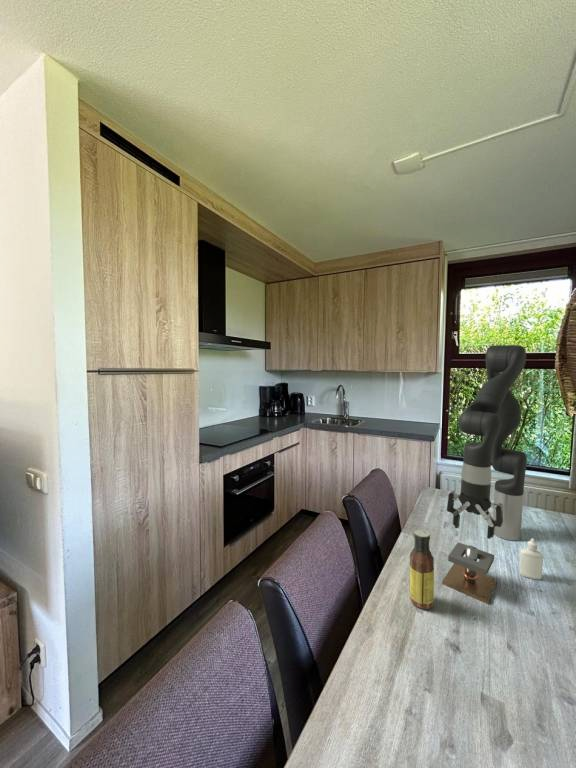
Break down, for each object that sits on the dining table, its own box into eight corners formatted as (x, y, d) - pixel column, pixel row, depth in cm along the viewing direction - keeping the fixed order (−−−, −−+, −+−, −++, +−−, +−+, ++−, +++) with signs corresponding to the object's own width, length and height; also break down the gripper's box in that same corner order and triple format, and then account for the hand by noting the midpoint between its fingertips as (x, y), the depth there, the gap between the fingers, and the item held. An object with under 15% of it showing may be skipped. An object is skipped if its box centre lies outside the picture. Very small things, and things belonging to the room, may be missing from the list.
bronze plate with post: (454, 565, 107) (455, 533, 106) (496, 582, 99) (499, 547, 98) (442, 583, 98) (444, 548, 97) (488, 604, 90) (490, 566, 89)
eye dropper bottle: (539, 583, 99) (542, 545, 98) (517, 574, 103) (519, 537, 102) (542, 577, 102) (545, 540, 101) (521, 568, 106) (523, 532, 105)
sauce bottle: (432, 597, 93) (435, 529, 91) (434, 613, 87) (438, 541, 85) (407, 591, 95) (410, 525, 93) (408, 607, 89) (411, 536, 87)
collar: (457, 546, 105) (457, 542, 105) (493, 560, 98) (494, 554, 98) (448, 560, 98) (448, 555, 98) (486, 576, 91) (486, 570, 91)
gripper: (506, 482, 94) (503, 536, 95) (453, 470, 104) (450, 519, 105) (502, 489, 89) (498, 546, 90) (446, 476, 98) (443, 528, 99)
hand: (472, 532), depth 97 cm, fingers open, 8 cm apart
